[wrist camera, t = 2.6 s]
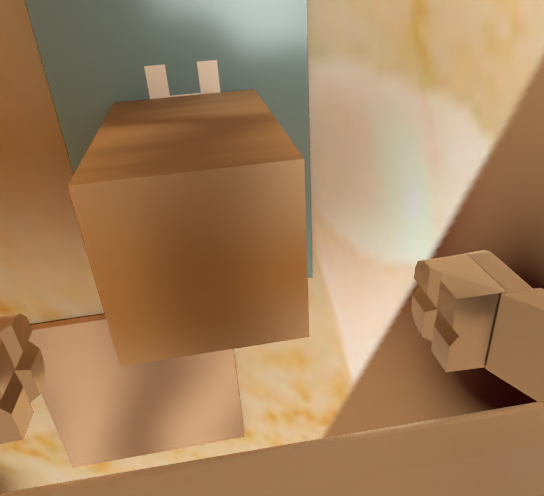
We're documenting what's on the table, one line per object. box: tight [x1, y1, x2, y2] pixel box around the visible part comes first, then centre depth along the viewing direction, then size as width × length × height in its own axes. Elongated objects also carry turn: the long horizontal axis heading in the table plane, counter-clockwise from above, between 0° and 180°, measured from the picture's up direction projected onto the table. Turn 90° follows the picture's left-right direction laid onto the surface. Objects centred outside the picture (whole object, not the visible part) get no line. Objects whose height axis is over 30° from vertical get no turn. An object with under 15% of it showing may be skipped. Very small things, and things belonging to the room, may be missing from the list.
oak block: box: [68, 89, 309, 367], centre depth 15 cm, size 5×5×8 cm
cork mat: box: [28, 314, 244, 467], centre depth 23 cm, size 9×9×1 cm
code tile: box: [25, 0, 312, 278], centre depth 18 cm, size 9×12×1 cm
